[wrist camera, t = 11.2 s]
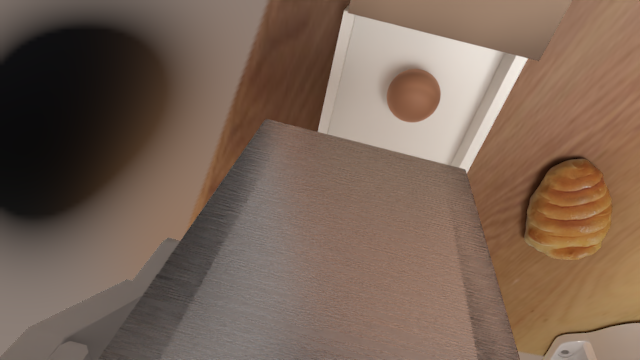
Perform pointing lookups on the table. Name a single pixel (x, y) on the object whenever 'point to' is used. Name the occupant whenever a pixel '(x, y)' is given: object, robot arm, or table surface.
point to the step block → (475, 21)
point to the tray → (426, 54)
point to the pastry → (569, 211)
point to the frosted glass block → (325, 263)
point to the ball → (413, 95)
